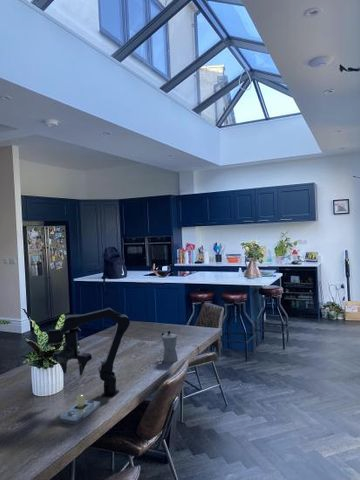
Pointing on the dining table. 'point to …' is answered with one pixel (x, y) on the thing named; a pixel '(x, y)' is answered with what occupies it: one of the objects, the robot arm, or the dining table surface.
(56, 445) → the dining table surface
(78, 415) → the slotted mounting bracket
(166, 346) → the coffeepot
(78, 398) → the pin
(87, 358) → the robot arm
